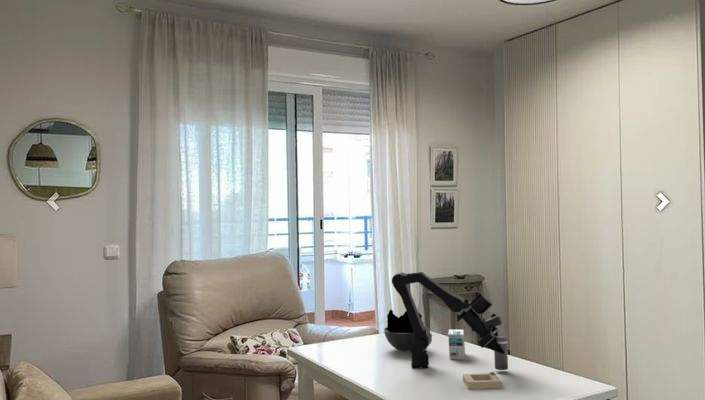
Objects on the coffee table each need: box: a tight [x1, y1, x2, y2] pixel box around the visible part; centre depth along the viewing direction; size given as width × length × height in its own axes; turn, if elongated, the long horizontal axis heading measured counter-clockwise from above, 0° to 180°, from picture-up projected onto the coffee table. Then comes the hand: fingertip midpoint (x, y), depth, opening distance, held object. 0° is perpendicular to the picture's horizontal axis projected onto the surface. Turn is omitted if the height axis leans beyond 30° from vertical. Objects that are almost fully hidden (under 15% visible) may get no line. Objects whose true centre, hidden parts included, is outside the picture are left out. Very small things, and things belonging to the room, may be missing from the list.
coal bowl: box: [383, 309, 428, 352], centre depth 255 cm, size 20×20×19 cm
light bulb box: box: [448, 328, 466, 360], centre depth 243 cm, size 11×7×11 cm, turn 168°
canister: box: [493, 335, 509, 371], centre depth 218 cm, size 5×5×12 cm
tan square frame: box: [462, 371, 503, 390], centre depth 203 cm, size 12×10×3 cm
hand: (504, 351), depth 217 cm, fingers closed on canister, 5 cm apart
